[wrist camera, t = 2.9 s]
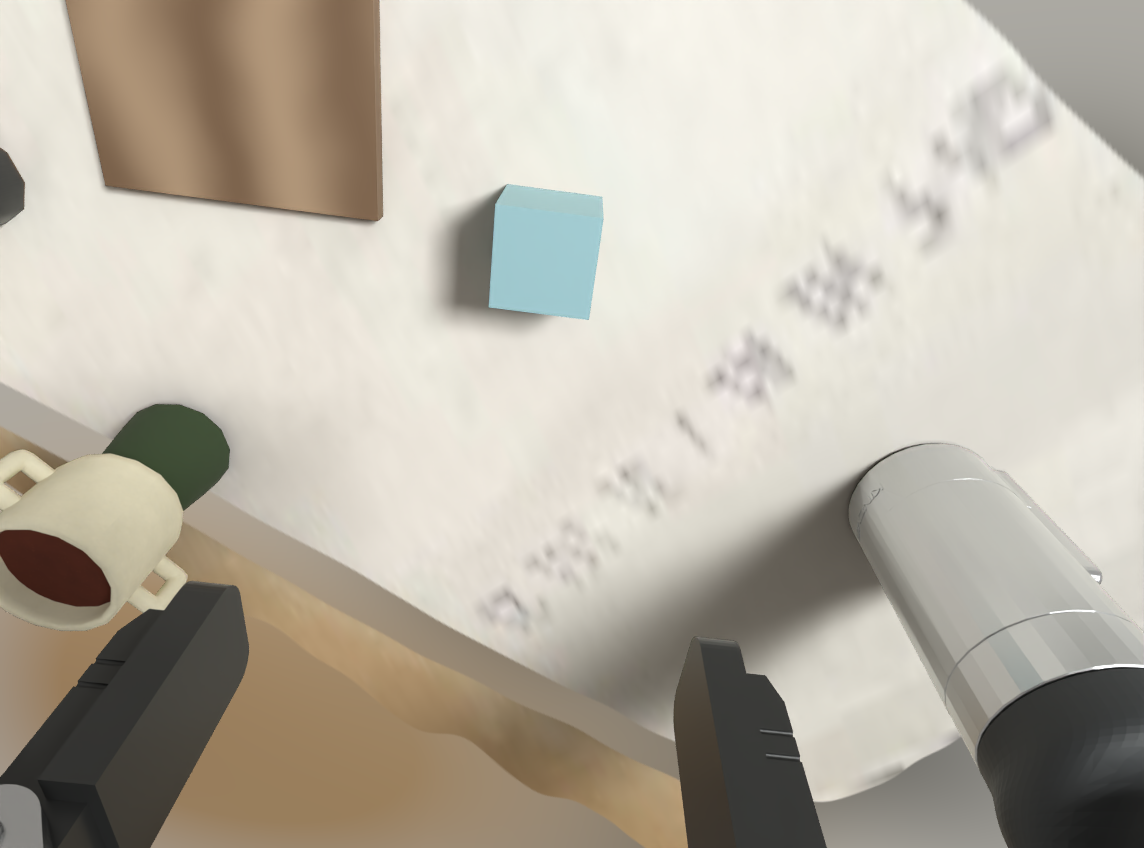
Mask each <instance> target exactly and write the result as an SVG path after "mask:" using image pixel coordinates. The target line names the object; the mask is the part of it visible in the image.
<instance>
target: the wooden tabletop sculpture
mask: <svg viewBox="0 0 1144 848" xmlns="http://www.w3.org/2000/svg"><path fill="white" fill-rule="evenodd" d="M24 189H25V182H24V180H23V179H22V177H21V175H20V174H19V172H18V170H17V169H16V167H15V165H14V163H13V162H12V160H11V158H10V157H9V155H8V153H7V152H5V151H4V150H3V149H1V148H0V225H1V224H4V223H7V222H8V221H9V220H11V219H12V218H13V217H14V216H16V215H17V214H18V213H20V212H21V211H22V210H23V209H24Z"/></svg>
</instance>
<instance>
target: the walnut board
mask: <svg viewBox="0 0 1144 848" xmlns="http://www.w3.org/2000/svg"><path fill="white" fill-rule="evenodd" d="M66 5H67V9H68V14H69V19H70V23H71V28H72V32H73V37H74V42H75V46H76V51H77V56H78V60H79V65H80V70H81V74H82V79H83V83H84V88H85V93H86V97H87V102H88V107H89V111H90V116H91V121H92V125H93V130H94V134H95V139H96V144H97V148H98V153H99V158H100V162H101V167H102V172H103V176H104V181H105V185H106V186H113V187H121V188H128V189H136V190H144V191H151V192H159V193H167V194H175V195H182V196H190V197H198V198H205V199H213V200H221V201H228V202H236V203H244V204H251V205H259V206H267V207H274V208H282V209H290V210H297V211H305V212H313V213H320V214H328V215H336V216H343V217H351V218H359V219H367V220H374V221H378V220H380V219H381V218H382V217H383V185H382V128H381V72H380V16H379V0H66Z"/></svg>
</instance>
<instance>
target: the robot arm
mask: <svg viewBox="0 0 1144 848" xmlns="http://www.w3.org/2000/svg"><path fill="white" fill-rule="evenodd" d="M849 521H850V525H851V529H852V531H853V533H854V534H855V536H856V538H857V540H858V542H859V544H860V546H861V548H862V550H863V551H864V553H865V555H866V557H867V559H868V561H869V563H870V565H871V567H872V569H873V571H874V573H875V575H876V576H877V578H878V580H879V582H880V584H881V586H882V588H883V590H884V592H885V593H886V595H887V597H888V599H889V601H890V603H891V605H892V607H893V609H894V610H895V612H896V614H897V616H898V618H899V620H900V622H901V624H902V626H903V628H904V629H905V631H906V633H907V635H908V637H909V639H910V641H911V643H912V645H913V646H914V648H915V650H916V652H917V654H918V656H919V658H920V660H921V662H922V663H923V665H924V667H925V669H926V671H927V673H928V675H929V677H930V679H931V680H932V682H933V684H934V686H935V688H936V690H937V692H938V694H939V696H940V697H941V699H942V701H943V703H944V705H945V707H946V709H947V711H948V713H949V714H950V716H951V718H952V720H953V722H954V723H955V725H956V727H957V729H958V731H959V733H960V735H961V737H962V739H963V740H964V742H965V744H966V746H967V748H968V750H969V752H970V754H971V755H972V757H973V759H974V761H975V763H976V765H977V767H978V768H979V771H980V773H981V774H982V776H983V778H984V780H985V782H986V784H987V786H988V788H989V790H990V792H991V794H992V796H993V800H994V805H995V811H996V815H997V819H998V823H999V827H1000V829H1001V832H1002V835H1003V837H1004V839H1005V842H1006V844H1007V846H1008V848H1144V632H1143V631H1142V630H1141V629H1140V627H1139V626H1138V625H1137V624H1136V623H1135V622H1134V621H1133V620H1132V619H1131V618H1130V617H1129V616H1128V615H1127V613H1126V612H1125V611H1124V610H1123V609H1122V608H1121V607H1120V606H1119V605H1118V604H1117V603H1116V602H1115V601H1114V600H1113V598H1112V597H1111V596H1110V595H1109V594H1108V593H1107V592H1106V591H1105V590H1104V589H1103V588H1102V587H1101V586H1100V584H1101V581H1102V573H1101V571H1100V570H1099V568H1098V567H1097V566H1096V565H1095V564H1094V563H1093V562H1092V561H1091V560H1090V559H1089V558H1088V557H1087V556H1086V555H1085V554H1084V553H1083V552H1082V551H1081V550H1080V549H1079V547H1078V546H1077V545H1076V544H1075V543H1074V542H1073V541H1072V540H1071V539H1070V538H1069V537H1068V536H1067V535H1066V534H1065V533H1064V532H1063V531H1062V530H1061V529H1060V528H1059V527H1058V526H1057V525H1056V523H1055V522H1054V521H1053V520H1052V519H1051V518H1050V517H1049V516H1048V515H1047V514H1046V513H1045V512H1044V511H1043V510H1042V509H1041V508H1040V507H1039V506H1038V505H1037V504H1036V503H1035V502H1034V501H1033V499H1032V498H1031V497H1030V496H1029V495H1028V494H1027V493H1026V492H1025V491H1024V490H1023V489H1022V488H1021V487H1020V486H1019V485H1018V484H1017V483H1016V482H1015V481H1014V480H1013V479H1012V478H1011V477H1010V475H1009V474H1008V473H1006V472H1002V471H996V470H993V469H991V467H990V466H989V465H988V464H987V463H986V462H985V461H984V460H983V459H982V458H981V457H980V456H978V455H977V454H975V453H974V452H972V451H971V450H969V449H966V448H963V447H960V446H957V445H950V444H943V443H939V444H924V445H919V446H915V447H910V448H907V449H905V450H902V451H900V452H897V453H895V454H893V455H891V456H889V457H888V458H886V459H884V460H882V461H881V462H879V463H878V464H877V465H876V466H874V467H873V468H872V469H871V470H870V471H868V472H867V474H866V475H865V476H864V477H863V478H862V480H861V481H860V482H859V483H858V485H857V487H856V489H855V490H854V492H853V494H852V497H851V501H850V504H849ZM248 655H249V644H248V638H247V632H246V626H245V620H244V614H243V608H242V602H241V596H240V592H239V589H238V588H237V587H236V586H234V585H225V584H215V583H206V582H197V581H189V582H187V583H185V584H184V585H183V586H182V587H181V589H180V590H179V591H178V592H177V594H176V595H175V596H174V598H173V599H172V600H171V602H170V603H169V604H168V606H167V607H166V608H165V610H157V609H148V610H147V611H145V612H144V613H143V614H141V615H140V616H138V617H137V618H135V619H134V620H133V621H131V622H130V623H128V624H127V625H126V626H124V627H123V628H121V629H120V630H119V631H117V633H116V634H115V635H114V636H113V638H112V639H111V640H110V642H109V643H108V644H107V645H106V647H105V648H104V649H103V650H102V651H101V653H100V654H99V655H98V657H97V658H96V662H95V663H94V664H91V665H90V666H89V668H88V669H87V670H86V671H85V673H84V674H83V675H82V676H81V678H80V679H79V680H78V684H77V686H76V687H73V688H72V689H71V690H70V691H69V693H68V694H67V695H66V697H65V698H64V699H63V700H62V701H61V703H60V704H59V705H58V706H57V708H56V709H55V710H54V711H53V713H52V714H51V715H50V716H49V718H48V719H47V720H46V721H45V723H44V724H43V725H42V726H41V728H40V729H39V730H38V731H37V733H36V734H35V735H34V737H33V738H32V739H31V740H30V741H29V742H28V744H27V745H26V746H25V747H24V749H23V750H22V751H21V753H20V754H19V755H18V756H17V757H16V759H15V760H14V761H13V763H12V764H11V765H10V766H9V767H8V769H7V770H6V771H5V773H4V774H3V775H2V776H1V777H0V848H150V847H151V845H152V843H153V842H154V840H155V838H156V836H157V834H158V833H159V831H160V829H161V827H162V825H163V823H164V821H165V819H166V818H167V816H168V814H169V812H170V810H171V809H172V807H173V805H174V803H175V801H176V800H177V798H178V796H179V794H180V792H181V790H182V788H183V787H184V785H185V783H186V781H187V779H188V778H189V776H190V774H191V772H192V770H193V768H194V767H195V765H196V763H197V761H198V759H199V758H200V756H201V754H202V752H203V750H204V748H205V746H206V745H207V743H208V741H209V739H210V737H211V736H212V734H213V732H214V730H215V728H216V726H217V725H218V723H219V721H220V719H221V717H222V715H223V714H224V712H225V710H226V708H227V706H228V704H229V703H230V701H231V699H232V697H233V695H234V693H235V692H236V690H237V688H238V686H239V684H240V682H241V680H242V678H243V675H244V673H245V669H246V666H247V661H248ZM674 732H675V741H676V749H677V757H678V766H679V774H680V783H681V791H682V799H683V808H684V816H685V824H686V833H687V841H688V848H827V847H826V844H825V840H824V837H823V834H822V830H821V826H820V823H819V820H818V816H817V813H816V809H815V806H814V802H813V799H812V795H811V792H810V789H809V785H808V782H807V778H806V775H805V771H804V768H803V765H802V762H800V754H799V751H798V747H797V744H796V740H795V738H794V737H793V730H792V727H791V723H790V720H789V716H788V713H787V710H786V706H785V703H784V701H783V700H782V698H781V697H780V695H779V694H778V693H777V691H776V690H775V688H774V687H773V686H772V684H771V683H770V681H769V680H768V679H767V677H766V676H765V675H756V674H746V671H745V666H744V662H743V658H742V654H741V650H740V647H739V645H738V643H737V642H736V641H731V640H722V639H712V638H703V637H694V638H693V639H692V641H691V644H690V647H689V650H688V654H687V657H686V660H685V664H684V667H683V670H682V674H681V677H680V680H679V684H678V687H677V690H676V695H675V701H674Z"/></svg>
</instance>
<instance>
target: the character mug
mask: <svg viewBox="0 0 1144 848" xmlns="http://www.w3.org/2000/svg"><path fill="white" fill-rule="evenodd" d="M229 453H230V449H229V446H228V444H227V442H226V439H225V437H224V435H223V433H222V430H221V429H220V428H219V427H218V426H217V425H216V424H214V423H213V422H212V421H211V420H210V419H209V418H208V417H207V416H206V415H204V414H203V413H200V412H198V411H195V410H192V409H190V408H187V407H184V406H182V405H164V404H156V405H153V406H151V407H148V408H146V409H144V410H141V411H139V412H137V413H136V414H135V416H134V417H133V418H132V419H131V420H130V421H129V422H128V423H127V424H126V425H125V426H124V427H123V429H122V430H121V431H120V432H119V433H118V435H117V436H116V437H115V438H114V440H113V441H112V442H111V443H110V445H109V446H108V447H107V448H106V450H105V451H104V452H103V453H102V454H94V455H86V456H83V457H80V458H77V459H75V460H72V461H70V462H68V463H66V464H64V465H62V466H59V467H57V468H56V469H55V470H54V469H53V468H52V467H50V466H49V465H48V464H46V463H45V462H44V461H42V460H41V459H40V458H39V457H37V456H36V455H35V454H33V453H31V452H29V451H27V450H25V449H21V450H17V451H13V452H10V453H9V454H7V455H6V456H4V457H3V458H2V459H0V510H1V511H2V512H1V513H0V607H1V608H2V609H3V610H5V611H6V612H8V613H10V614H12V615H13V616H15V617H17V618H19V619H22V620H24V621H27V622H29V623H31V624H34V625H36V626H41V627H46V628H50V629H54V630H59V631H87V630H90V629H93V628H95V627H98V626H101V625H104V624H107V623H108V622H109V621H110V620H111V619H112V618H113V617H114V616H115V615H116V614H117V612H118V611H119V610H120V609H121V608H122V606H123V605H124V604H125V603H126V602H128V603H130V604H131V605H133V606H134V607H135V608H137V609H138V610H140V611H141V612H142V613H144V612H145V611H147V610H148V609H157V610H165V608H166V607H167V606H168V604H169V603H170V602H171V600H172V599H173V598H174V596H175V595H176V594H177V592H178V591H179V590H180V589H181V587H182V586H183V585H184V584H185V583H186V581H187V577H188V575H187V574H186V573H185V571H184V570H183V569H182V568H180V567H179V566H178V565H177V564H175V563H174V562H173V561H171V560H170V559H169V558H168V557H166V556H165V555H166V553H167V552H168V551H169V550H170V549H171V547H172V546H173V545H174V544H175V543H176V541H177V540H178V538H179V535H180V532H181V528H182V522H183V516H184V512H183V511H184V510H185V509H186V508H188V507H189V506H190V505H191V504H192V503H194V502H195V501H196V500H198V499H199V498H200V497H201V496H203V495H204V494H205V493H206V492H207V491H208V490H209V489H210V488H212V487H213V486H214V485H215V484H216V483H217V482H218V481H219V480H220V479H221V477H222V476H223V475H224V473H225V472H226V471H227V469H228V467H229ZM20 471H21V472H23V473H24V474H25V475H27V476H28V477H29V478H31V479H32V480H33V481H35V482H36V483H37V484H36V485H34V486H33V487H32V488H31V489H29V490H28V491H27V492H26V493H24V494H23V495H22V496H20V495H19V494H17V493H16V492H14V491H13V490H12V489H10V488H9V487H8V486H6V485H5V484H4V483H5V482H6V481H8V480H9V479H10V478H12V477H13V476H14V475H16V474H17V473H18V472H20ZM152 571H154V572H155V573H156V574H157V575H159V576H160V577H161V578H163V579H164V580H165V581H166V582H165V583H164V585H163V586H162V587H161V588H160V590H159V591H158V592H157V593H156V595H153V594H152V593H151V592H149V591H148V590H147V589H145V588H144V587H142V586H141V584H142V583H143V581H144V580H145V579H146V578H147V576H148V575H149V574H150V573H151V572H152Z"/></svg>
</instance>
